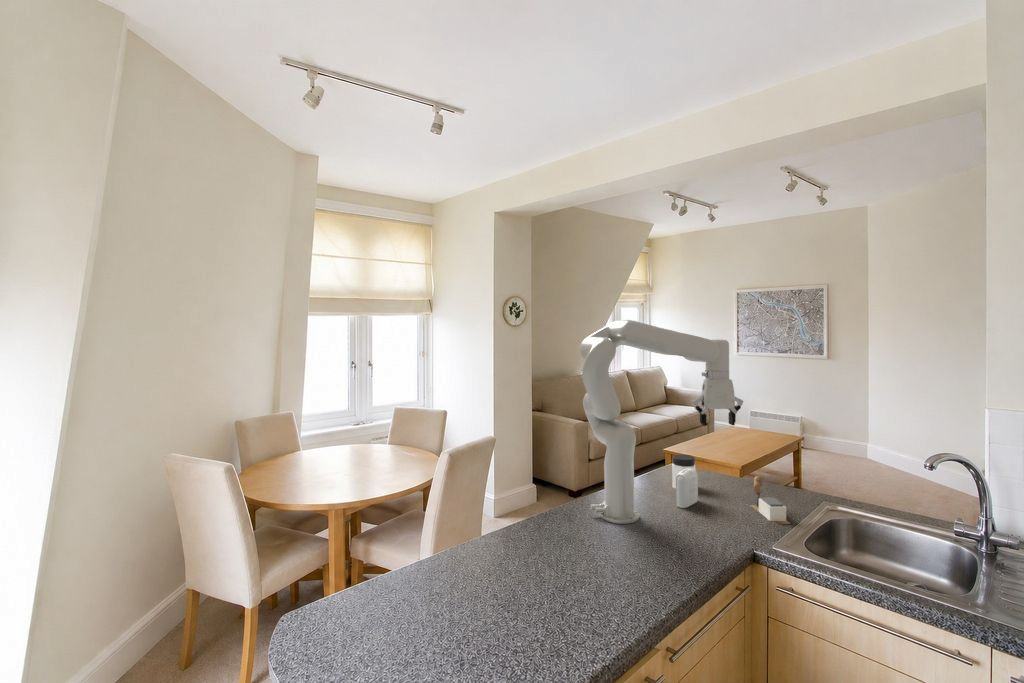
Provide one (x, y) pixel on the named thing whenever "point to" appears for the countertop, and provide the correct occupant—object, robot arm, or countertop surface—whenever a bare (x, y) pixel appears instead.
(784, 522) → the strip
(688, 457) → the jar
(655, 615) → the countertop surface
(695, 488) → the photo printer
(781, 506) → the white and grey block
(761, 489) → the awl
